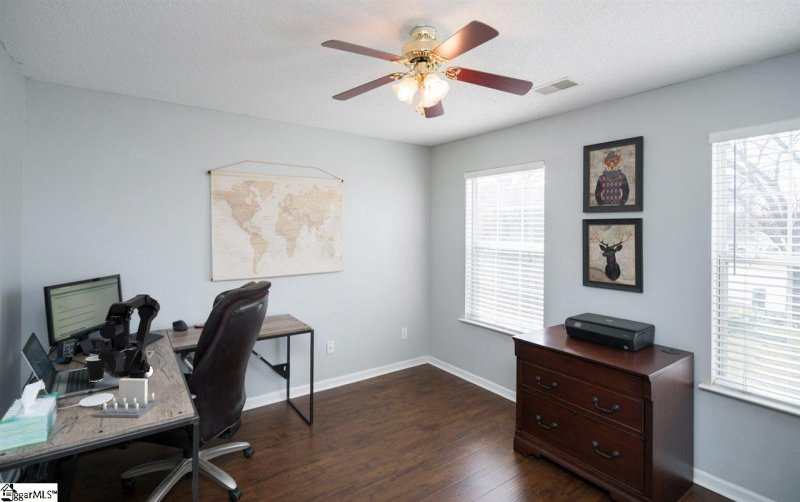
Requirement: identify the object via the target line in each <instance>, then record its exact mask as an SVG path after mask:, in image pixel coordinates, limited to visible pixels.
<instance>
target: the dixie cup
mask: <svg viewBox="0 0 800 502" xmlns="http://www.w3.org/2000/svg"><path fill="white" fill-rule="evenodd" d="M85 362H86V369H87V377H88V381H89V382H90V381H91V382H97V381H100V382H102V381H103V379H104V376H105V370H106V369H105V363H106V362H105V361H102V360H101V359H98V354H97V355H96V354H95V355H92V356H88V357H86V358H85ZM101 380H102V381H101ZM97 383H98V382H97Z"/></svg>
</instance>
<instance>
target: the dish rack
mask: <svg viewBox="0 0 800 502" xmlns="http://www.w3.org/2000/svg"><path fill="white" fill-rule="evenodd" d="M150 396H151V398H150V399H148V397H147V398H144V405H139V403H136V398H133V405H128V403H126V397H124V398H123V405H119V400H116V396H115V397H112V400H111V401H112V404H110V405H109V406H107V402H103V404H102V405H103V406H102V410H100V411H99V412H97V413H95V418H132V419H134V418H135V419H137V418H138V419H139V418H141V417H142V416H143V415H145V414H147V413H148V412H149V411H151V410H152V409H153V408H154V407H156V406H157V405H160V403H161V401H162V400H161V399H155V392H151V393H150Z"/></svg>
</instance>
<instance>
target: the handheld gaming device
mask: <svg viewBox="0 0 800 502" xmlns="http://www.w3.org/2000/svg"><path fill="white" fill-rule="evenodd" d="M145 353H146V355H147V360H148V359H151V358H152V356H153V355H154V353H155V350H149V351H148V350H147V351H146V350H145Z"/></svg>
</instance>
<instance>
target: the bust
mask: <svg viewBox="0 0 800 502" xmlns="http://www.w3.org/2000/svg"><path fill="white" fill-rule="evenodd" d="M151 365H152V364H150V372H148V373H146V374H145V378H149V377H151V376H152V374H153V373H154V370H153V366H152V367H151Z"/></svg>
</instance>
